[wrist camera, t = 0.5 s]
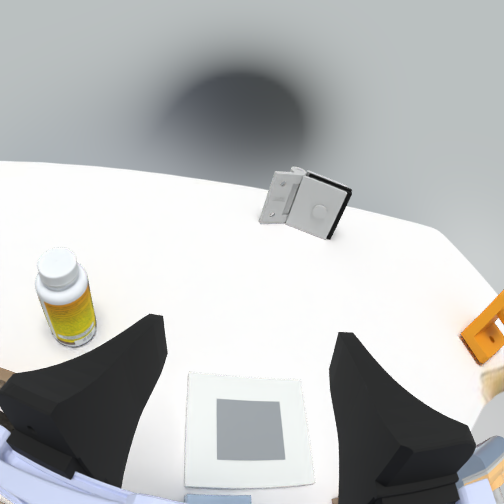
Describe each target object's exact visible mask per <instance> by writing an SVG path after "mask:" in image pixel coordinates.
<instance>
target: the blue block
mask: <svg viewBox="0 0 504 504" xmlns="http://www.w3.org/2000/svg"><path fill="white" fill-rule="evenodd" d="M184 502H185V503H188V504H251V495H240V496H225V495H197V494H187V495H186V496H185V497H184Z"/></svg>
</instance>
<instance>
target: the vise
mask: <svg viewBox="0 0 504 504" xmlns="http://www.w3.org/2000/svg"><path fill="white" fill-rule="evenodd" d="M457 474H458V477H459V481H458V482H457V483H455V484H456V487H457V489H459V488H461V487H462V486H465V485H467V484H470V483H474V482H477V481H480V480H482V479H485V478H486V479H488V481H489V483H490V486H491V489H492V492H493V495H494V498H495V501H496V504H504V499H503V496H502V493H501V490H500V486H501V485H502V484H503V483H504V438H503V437H500V436H493V437H491V438H489V439H487V440H485V441H484V442H482V443H480V444H478V445H476V449H475V451H474V453H473V455H472V456H471V457H470V459H469V460H468V461H467V462H466V463H465V464H464V465H463V466H462V467H461V469H460V470H459V471H458V472H457Z"/></svg>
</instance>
